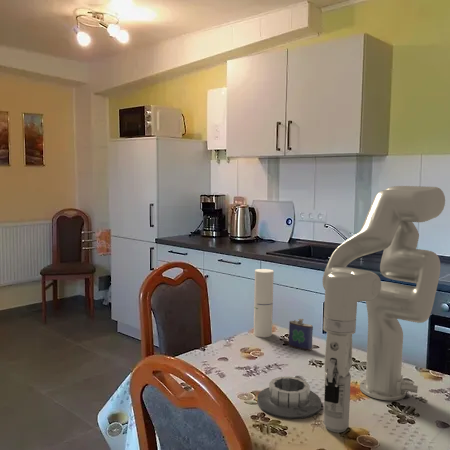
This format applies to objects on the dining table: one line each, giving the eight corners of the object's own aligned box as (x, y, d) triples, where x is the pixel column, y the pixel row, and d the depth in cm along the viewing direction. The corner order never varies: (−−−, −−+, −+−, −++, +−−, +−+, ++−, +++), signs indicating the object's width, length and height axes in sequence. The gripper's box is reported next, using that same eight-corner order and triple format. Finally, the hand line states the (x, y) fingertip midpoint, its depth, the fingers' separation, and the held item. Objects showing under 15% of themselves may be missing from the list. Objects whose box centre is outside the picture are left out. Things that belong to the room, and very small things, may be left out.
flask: (313, 349, 171) (314, 320, 169) (309, 351, 168) (310, 322, 167) (290, 343, 176) (291, 315, 175) (286, 346, 174) (287, 317, 173)
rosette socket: (327, 396, 134) (328, 378, 133) (312, 424, 118) (312, 404, 118) (269, 385, 141) (269, 367, 140) (247, 410, 125) (248, 391, 125)
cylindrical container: (266, 338, 182) (268, 273, 179) (250, 335, 185) (251, 271, 183) (275, 333, 188) (276, 270, 185) (258, 330, 191) (260, 268, 189)
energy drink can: (353, 427, 117) (356, 368, 116) (339, 436, 113) (341, 375, 112) (332, 418, 122) (335, 361, 120) (318, 426, 118) (320, 367, 116)
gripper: (348, 336, 105) (344, 412, 107) (361, 318, 121) (357, 384, 122) (315, 331, 108) (311, 404, 110) (331, 314, 124) (328, 378, 125)
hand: (335, 394), depth 116 cm, fingers open, 9 cm apart
